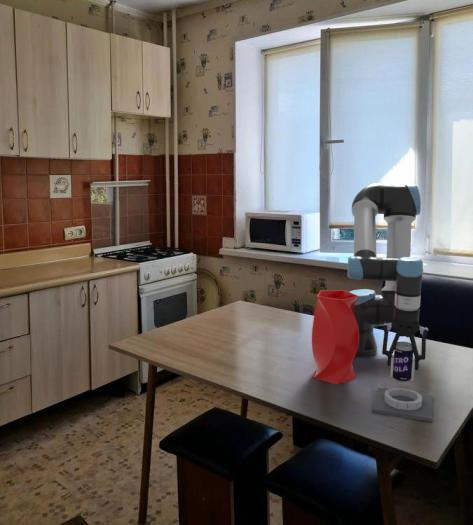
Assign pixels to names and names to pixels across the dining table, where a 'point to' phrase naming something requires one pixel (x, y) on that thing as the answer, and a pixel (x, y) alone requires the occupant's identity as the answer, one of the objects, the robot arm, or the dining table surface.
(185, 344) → the dining table surface
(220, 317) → the dining table surface
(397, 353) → the beverage can
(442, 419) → the dining table surface
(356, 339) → the vase
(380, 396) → the ring seat
